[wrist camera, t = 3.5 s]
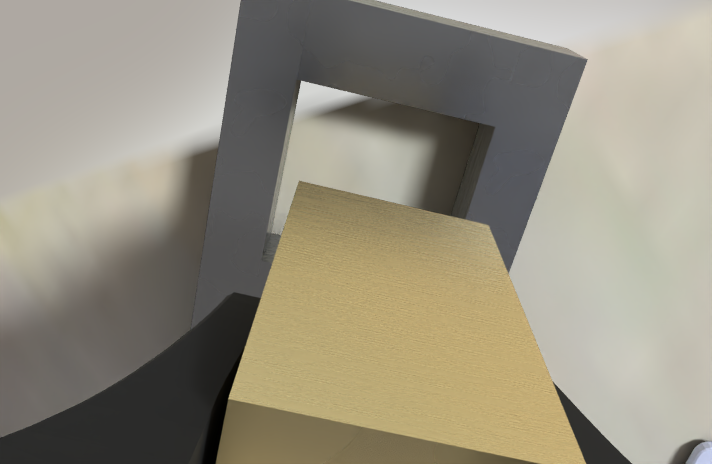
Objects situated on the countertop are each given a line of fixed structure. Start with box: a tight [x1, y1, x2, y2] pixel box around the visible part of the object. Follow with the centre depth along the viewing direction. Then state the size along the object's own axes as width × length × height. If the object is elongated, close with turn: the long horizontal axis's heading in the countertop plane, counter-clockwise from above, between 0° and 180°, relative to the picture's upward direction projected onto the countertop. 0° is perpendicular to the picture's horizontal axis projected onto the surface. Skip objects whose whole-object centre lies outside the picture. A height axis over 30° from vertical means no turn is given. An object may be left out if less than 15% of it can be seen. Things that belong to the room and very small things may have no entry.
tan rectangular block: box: [216, 181, 586, 464], centre depth 11 cm, size 4×4×7 cm
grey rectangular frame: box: [191, 0, 588, 329], centre depth 22 cm, size 9×25×2 cm, turn 167°
